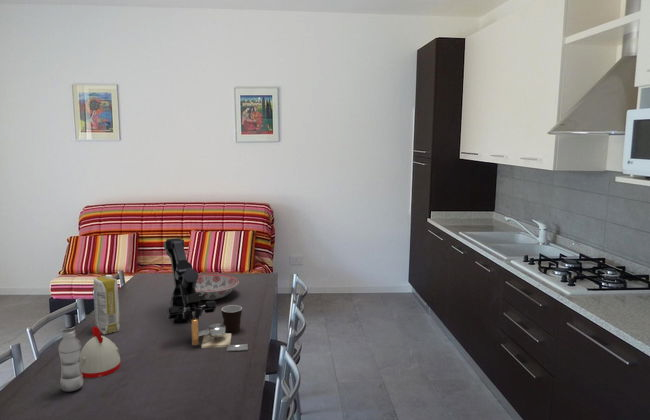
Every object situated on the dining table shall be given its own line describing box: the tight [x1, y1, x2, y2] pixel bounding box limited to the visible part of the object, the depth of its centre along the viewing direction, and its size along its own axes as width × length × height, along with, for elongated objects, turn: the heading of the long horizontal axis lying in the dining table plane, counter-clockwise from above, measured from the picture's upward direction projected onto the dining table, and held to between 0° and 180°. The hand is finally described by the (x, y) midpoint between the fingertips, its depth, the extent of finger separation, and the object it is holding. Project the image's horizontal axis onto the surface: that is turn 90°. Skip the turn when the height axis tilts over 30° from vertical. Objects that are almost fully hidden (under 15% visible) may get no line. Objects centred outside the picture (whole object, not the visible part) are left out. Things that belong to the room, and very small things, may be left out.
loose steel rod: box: [226, 343, 249, 352], centre depth 182 cm, size 8×2×2 cm
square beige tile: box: [200, 333, 232, 349], centre depth 189 cm, size 11×11×3 cm
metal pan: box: [190, 317, 226, 346], centre depth 186 cm, size 14×7×10 cm, turn 127°
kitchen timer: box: [80, 325, 122, 379], centre depth 165 cm, size 14×14×15 cm
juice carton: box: [92, 274, 121, 336], centre depth 197 cm, size 9×8×24 cm
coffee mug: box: [221, 304, 243, 335], centre depth 201 cm, size 12×9×10 cm
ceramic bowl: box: [195, 274, 240, 301], centre depth 242 cm, size 29×29×8 cm
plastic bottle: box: [57, 328, 84, 393], centre depth 151 cm, size 6×7×20 cm
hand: (196, 329), depth 185 cm, fingers closed
